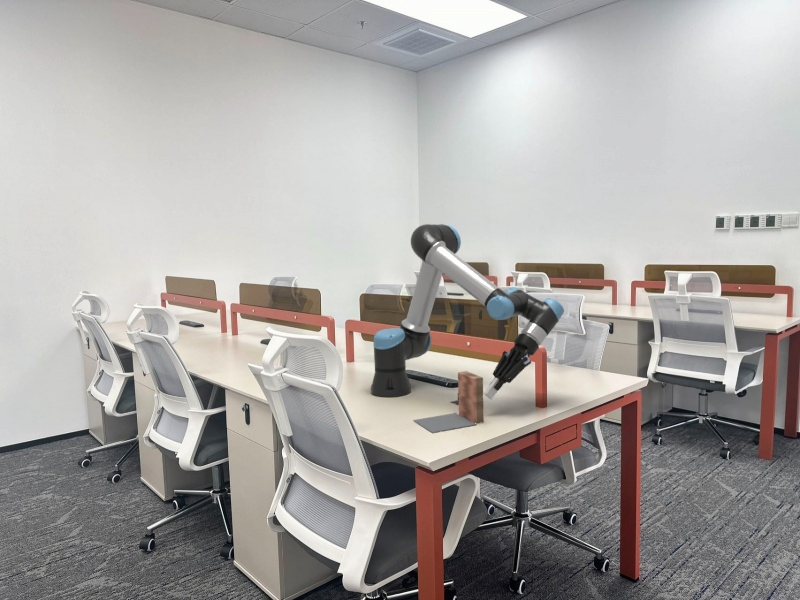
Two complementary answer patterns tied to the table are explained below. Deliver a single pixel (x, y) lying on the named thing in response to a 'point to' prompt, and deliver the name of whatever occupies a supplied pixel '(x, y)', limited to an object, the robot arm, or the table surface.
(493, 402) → the table surface
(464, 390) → the mottled brown tile
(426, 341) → the robot arm
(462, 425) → the felt mat
